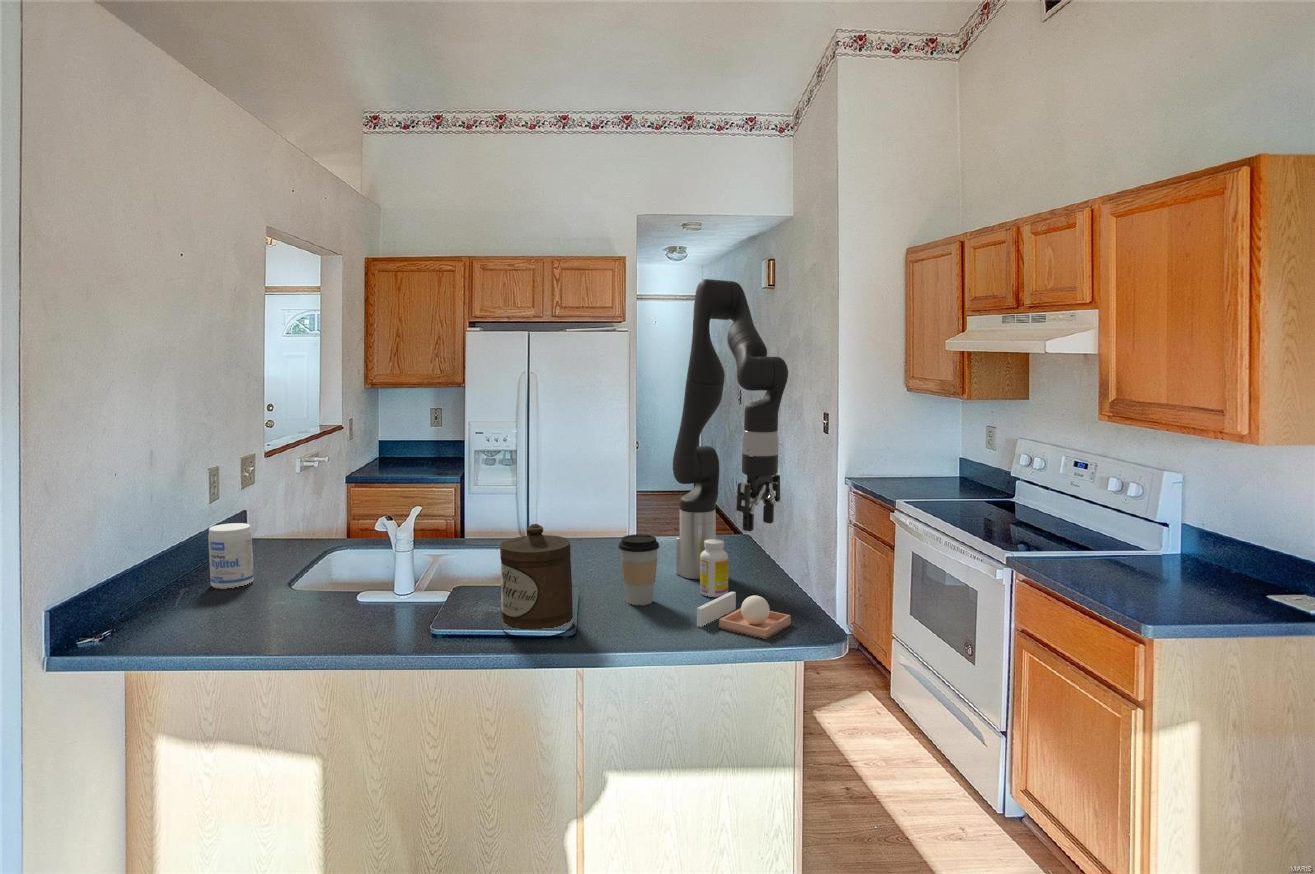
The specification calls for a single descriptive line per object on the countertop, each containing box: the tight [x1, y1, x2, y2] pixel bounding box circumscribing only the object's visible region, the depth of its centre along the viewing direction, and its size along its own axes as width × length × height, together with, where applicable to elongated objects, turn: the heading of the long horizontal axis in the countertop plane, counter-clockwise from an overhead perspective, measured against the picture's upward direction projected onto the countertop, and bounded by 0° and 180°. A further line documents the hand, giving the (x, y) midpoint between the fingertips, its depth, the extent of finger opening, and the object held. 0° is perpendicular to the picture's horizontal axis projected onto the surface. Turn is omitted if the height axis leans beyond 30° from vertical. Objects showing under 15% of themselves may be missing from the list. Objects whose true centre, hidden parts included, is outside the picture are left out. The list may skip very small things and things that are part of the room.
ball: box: [740, 595, 771, 625], centre depth 171 cm, size 6×6×6 cm
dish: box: [718, 607, 792, 640], centre depth 171 cm, size 11×11×2 cm
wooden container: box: [499, 523, 574, 629], centre depth 171 cm, size 15×15×22 cm
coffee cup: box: [617, 533, 660, 606], centre depth 187 cm, size 9×9×15 cm
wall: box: [696, 591, 737, 628], centre depth 177 cm, size 1×14×4 cm, turn 144°
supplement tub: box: [207, 522, 254, 590], centre depth 202 cm, size 10×10×15 cm
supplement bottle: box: [699, 538, 729, 598], centre depth 193 cm, size 7×7×13 cm
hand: (758, 526), depth 173 cm, fingers open, 8 cm apart
